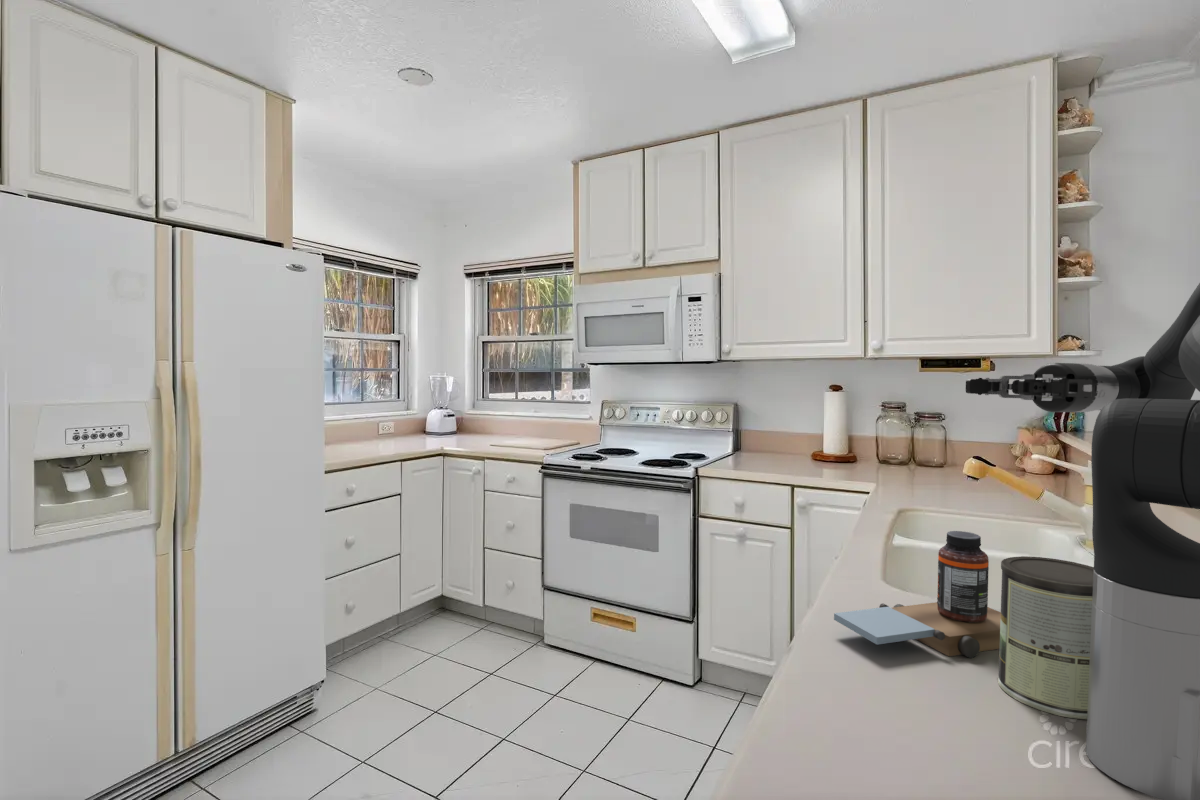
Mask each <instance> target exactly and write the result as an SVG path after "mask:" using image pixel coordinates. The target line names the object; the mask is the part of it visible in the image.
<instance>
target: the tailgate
mask: <svg viewBox="0 0 1200 800" xmlns="http://www.w3.org/2000/svg"><path fill="white" fill-rule="evenodd" d="M892 608H893V607H891V606H889V607H881V608H879V607H876V608H866V609H857V610H849V611H840V612H835V613H833V621H835V622H837V623H839V624H840V625H842V626H844V627H845V628H848V629H849V630H850V631H853V632H854V633H855V634H858V635H860V636H862V637H863V638H864V639H866V640H868V641H870V642H871V643H873V644H875V645H876V646H877V645H883V644H890V643H896V642H897V643H899V642H903V641H904V642H905V641H911V640H917V639H919V638H926V637H933V636H934V631H935V629H933V628H931V627H929V626H927V625H925V624H923V623H921V622H919V621H917V620H915V619H913V618H911V617H909V616H906V615H904V614H902V613H900V612H898V611H896V610H894V609H892Z"/></svg>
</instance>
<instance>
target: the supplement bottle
mask: <svg viewBox="0 0 1200 800" xmlns="http://www.w3.org/2000/svg"><path fill="white" fill-rule="evenodd" d="M981 538H982V537H981V536H980V535H979V534H977V533H974V532H971V531H969V532H968V531H961V530H950V531H947V533H946V540H945V541H946V543H945V545H944V546H941V547H940V548H939V550H938V553H937V555H938V557H937V558H938V559H937V561H938V562H937V594H936V595H937V597H936V598H937V599H936V600H937V601H936V602H937V605H938V606H937V608H938V611H939V612H940V613H941V614H942V615H944V616H946V617H948V618H951V619H953V620H957V621H962V622H968V623H974V622H981V621H984V620H985V619H986V618H987V607H989V606H988V603H989V600H988V598H989V597H988V596H989V569H990V568H989V562H990V560H989V557H988V553H986V552H985V551H983V550H982V549H981V548H980V547H981V545H982V543H981V542H982V541H981V540H982V539H981Z"/></svg>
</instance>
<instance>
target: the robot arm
mask: <svg viewBox="0 0 1200 800" xmlns="http://www.w3.org/2000/svg"><path fill="white" fill-rule="evenodd" d="M1010 380H1013V381H1012V383H1010ZM1010 390H1011V393H1013V394H1009V392H1010ZM1196 390H1197V391H1198V392H1199V393H1200V282H1199V283H1198V285H1196V288H1195V289H1194V291H1193V292H1192V293H1191V295H1190V297H1189V298H1188V300H1187V301H1186V302H1185V305H1184V307H1183V308H1182V309H1181V311H1180V313H1179V315H1178V316H1177V317H1176V318H1175V320H1174V322H1172V324H1171V325H1170V326H1169V328H1168V329H1167V330H1166V331H1165V332H1164V333H1163V334H1162V335H1161V336H1160V337H1159V338H1158V340H1156V342H1155V343H1154V344H1153V345H1152V346H1151V347H1150V348H1149V350H1147V352H1146V353H1145V355H1142V356H1138V357H1133V358H1131V359H1128V360H1126V361H1124V362H1121V363H1117V364H1114V365H1097V364H1096V365H1095V364H1092V363H1076V362H1074V363H1073V362H1072V363H1071V362H1050V363H1046V364H1044V365H1042V366H1040V367H1039V368H1038V369H1036V370H1035V371H1034V373H1032V374H1031V373H1029V374H1028V373H1027V374H1021V375H1001V376H1000V377H999V378H990V377H985V378H983V377H978V378H974V379H973V378H968V379H966V380H965V393H966V394H970V395H971V394H972V395H973V394H974V395H975V394H976V395H978V396H981V395H985V396H989V395H998V396H999V398H1001V399H1002V398H1003V399H1020V400H1022V401H1032V402H1033V403H1034V405H1036V406H1037V407H1038V408H1040V409H1041V410H1044V411H1045V412H1049V413H1086V412H1087V413H1088V412H1089V413H1090V412H1094V411H1099V413H1098V415H1097V417H1096V419H1095V422H1094V426H1093V430H1092V437H1091V438H1092V439H1091V459H1090V460H1091V462H1090V463H1091V486H1092V489H1091V491H1092V528H1091V529H1092V530H1091V531H1092V545H1093V547H1092V548H1093V567H1094V573H1093V596H1092V617H1091V640H1090V663H1089V685H1088V708H1087V711H1088V713H1087V720H1086V727H1085V728H1086V729H1085V730H1086V740H1085V752H1086V755H1087V757H1088V759H1089V761H1091V763H1092V764H1093V765H1094V766H1095V767H1097V769H1099V770H1100V771H1101V772H1103V773H1104V774H1105V775H1107V776H1109V778H1112V779H1113V780H1116V781H1117V782H1119V783H1120V784H1122V785H1124V786H1126V787H1128V788H1131V789H1132V790H1135V791H1137V792H1140V793H1142V794H1145V795H1147V796H1150V797H1152V798H1155V799H1159V800H1200V542H1198V541H1195V540H1193V539H1191V538H1190V537H1187V536H1185V535H1184V534H1181V533H1180V532H1178V531H1176V530H1174V529H1173V528H1172V527H1171V526H1169V525H1168V524H1166V523H1165V522H1164V521H1162V520H1161V519H1160V518H1159V517H1158V516H1156V514H1155V513H1154V512H1153V510H1152V507H1151V504H1157V505H1164V506H1170V507H1178V508H1185V509H1194V510H1200V399H1192V397H1193V396H1194V394H1195V391H1196Z"/></svg>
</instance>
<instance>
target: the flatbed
mask: <svg viewBox="0 0 1200 800" xmlns="http://www.w3.org/2000/svg"><path fill="white" fill-rule="evenodd" d="M937 606H938V605H937V601H935V602H928V603H920V604H912V605H911V604H909V605H903V604H900V603H897V604H895V605H894V606H892V607H891V608H892V609H894V610H896V611H898V612H900V613H902V614H904V615H906V616H909V617H911V618H913V619H915V620H917V621H919V622H921V623H923V624H925V625H927V626H929V627H931V628H933V629H935V631H934V636H933V637H926V638H919V639H916V640H917V641H919V642H921V643H922V644H924V645H926V646H928V647H930V648H933V649H934V650H935V651H938V652H940V653H941V654H944V655H945V656H948V657H953V656H960V655H963V656H965V657H967V658H969V659H973V658H975V657H976V656H977V655H979V653H980V652H984V651H985V652H987V651H993V650H999V647H1000V620H1001V611H998V610H996V609H993V608H992V607H989V606H988V607H987V618H986V619H985V620H984V621H981V622H974V623H968V622H962V621H957V620H953V619H951V618H948V617H946V616H944V615H942V614H941V613H940V612H939V611H938V608H937ZM881 607H890V606H889V605H887V604H886V603H880V604H879V607H878V608H881Z"/></svg>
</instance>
